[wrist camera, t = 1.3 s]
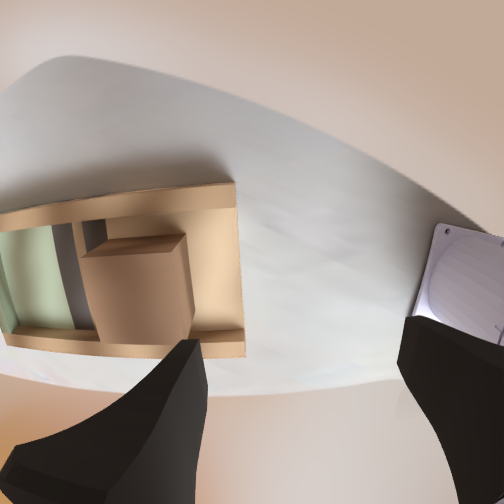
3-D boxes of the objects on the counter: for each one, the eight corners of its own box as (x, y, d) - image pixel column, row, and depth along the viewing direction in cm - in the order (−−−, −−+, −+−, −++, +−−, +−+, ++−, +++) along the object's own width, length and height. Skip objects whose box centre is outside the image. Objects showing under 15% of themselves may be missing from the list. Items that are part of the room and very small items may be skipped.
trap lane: (235, 182, 18) (233, 184, 16) (245, 336, 21) (245, 357, 18) (-8, 214, 18) (-27, 220, 15) (21, 331, 21) (7, 345, 18)
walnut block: (186, 233, 18) (171, 252, 14) (195, 310, 19) (185, 345, 15) (109, 239, 18) (79, 258, 14) (123, 312, 19) (100, 343, 15)
